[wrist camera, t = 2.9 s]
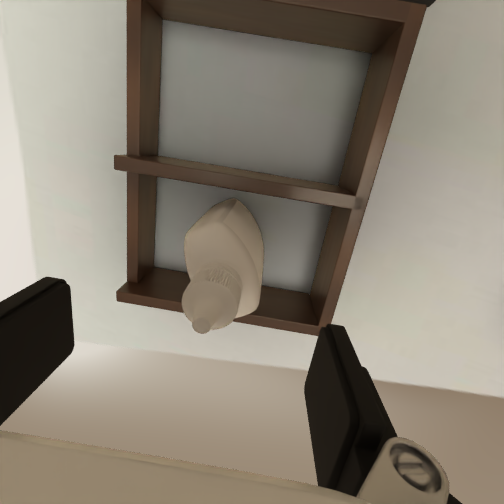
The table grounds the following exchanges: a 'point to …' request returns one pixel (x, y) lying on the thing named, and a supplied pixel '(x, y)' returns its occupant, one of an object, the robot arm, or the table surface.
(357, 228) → the spice rack
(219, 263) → the eye dropper bottle
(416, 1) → the rubber mat
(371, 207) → the table surface
